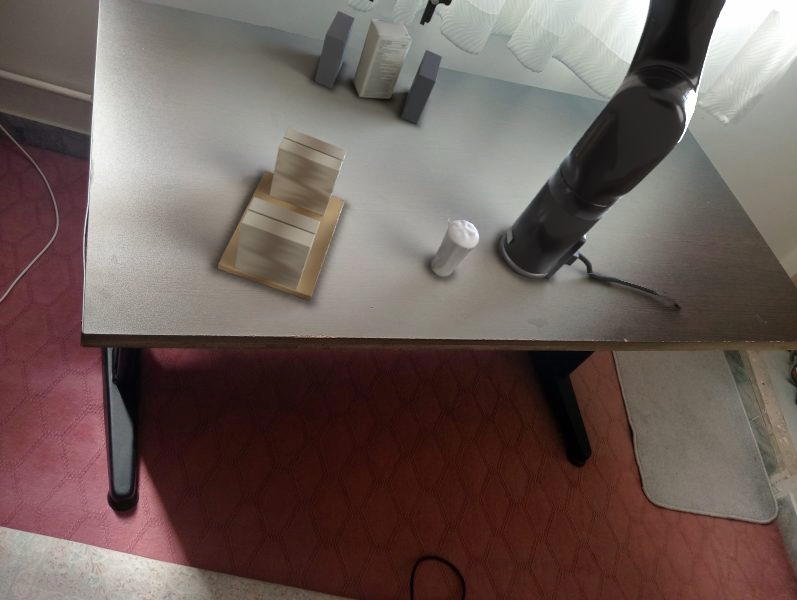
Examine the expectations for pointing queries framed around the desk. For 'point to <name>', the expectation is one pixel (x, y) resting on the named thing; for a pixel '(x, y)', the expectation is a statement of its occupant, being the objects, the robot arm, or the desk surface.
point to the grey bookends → (335, 55)
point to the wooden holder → (289, 218)
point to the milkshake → (454, 247)
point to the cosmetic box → (382, 58)
